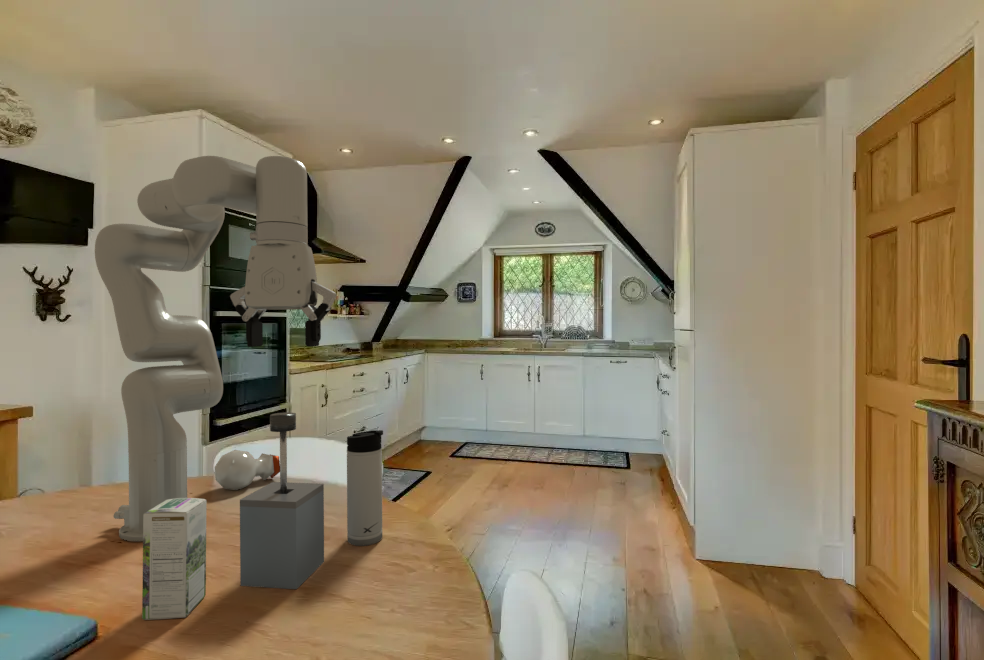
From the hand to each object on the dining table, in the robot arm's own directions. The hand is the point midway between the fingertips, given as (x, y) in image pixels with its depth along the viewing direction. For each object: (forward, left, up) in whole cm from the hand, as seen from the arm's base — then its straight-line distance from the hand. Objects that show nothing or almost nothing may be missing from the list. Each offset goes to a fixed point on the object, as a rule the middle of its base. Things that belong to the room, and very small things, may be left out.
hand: (283, 346), depth 81 cm
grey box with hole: (0, 0, -36) cm, 36 cm away
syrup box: (-10, -11, -36) cm, 39 cm away
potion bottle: (-34, +42, -36) cm, 65 cm away
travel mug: (+8, +14, -36) cm, 40 cm away
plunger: (0, 0, -26) cm, 26 cm away
